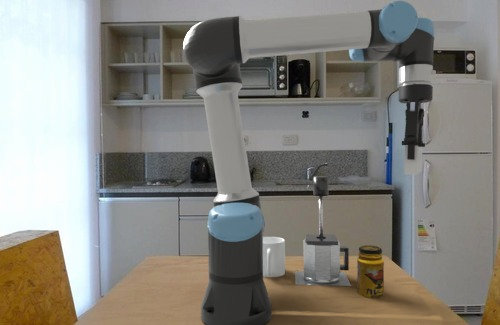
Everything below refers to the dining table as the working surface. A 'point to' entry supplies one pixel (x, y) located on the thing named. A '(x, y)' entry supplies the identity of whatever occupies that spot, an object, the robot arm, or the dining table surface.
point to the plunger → (320, 197)
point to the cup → (273, 256)
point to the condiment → (370, 272)
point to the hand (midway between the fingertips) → (413, 173)
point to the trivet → (301, 281)
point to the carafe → (323, 259)
